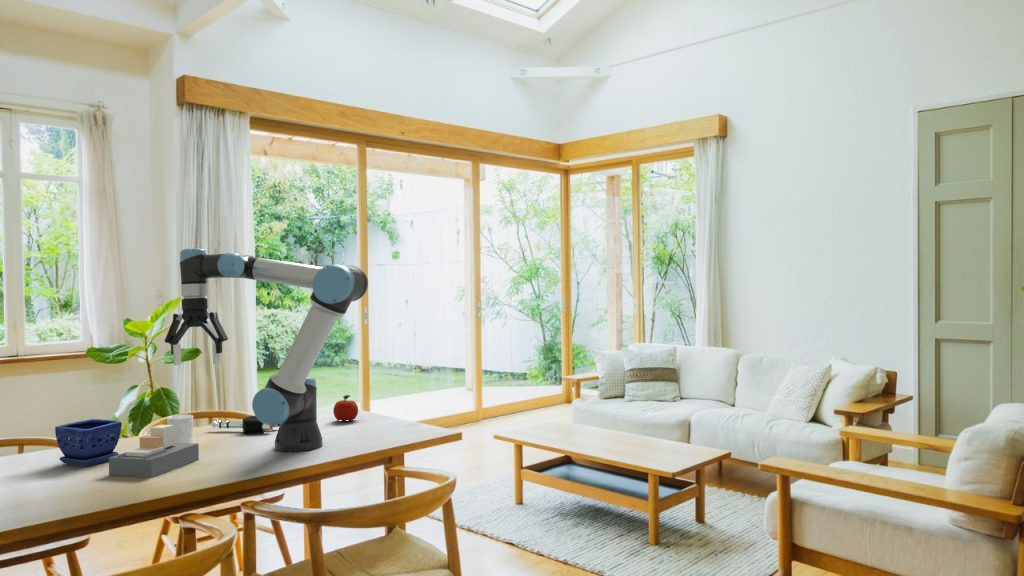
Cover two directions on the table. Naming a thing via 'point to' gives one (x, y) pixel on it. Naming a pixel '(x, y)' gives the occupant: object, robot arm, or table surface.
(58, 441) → the flower pot
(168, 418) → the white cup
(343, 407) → the fruit
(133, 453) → the tan and grey block
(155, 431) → the plug
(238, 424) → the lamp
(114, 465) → the socket
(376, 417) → the table surface
